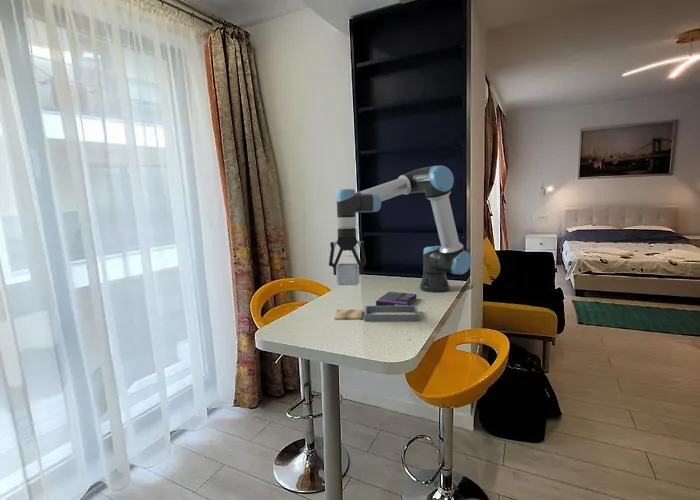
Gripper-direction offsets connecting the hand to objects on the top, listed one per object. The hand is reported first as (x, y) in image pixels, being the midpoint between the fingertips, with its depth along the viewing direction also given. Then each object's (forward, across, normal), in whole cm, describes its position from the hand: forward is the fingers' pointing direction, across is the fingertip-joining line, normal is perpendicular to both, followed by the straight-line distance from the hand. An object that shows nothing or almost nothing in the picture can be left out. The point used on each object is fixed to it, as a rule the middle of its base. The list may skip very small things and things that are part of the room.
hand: (348, 282), depth 151 cm
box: (+15, -21, -19) cm, 32 cm away
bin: (+14, -18, +1) cm, 22 cm away
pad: (+14, 0, 0) cm, 14 cm away
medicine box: (+1, 0, 0) cm, 1 cm away
